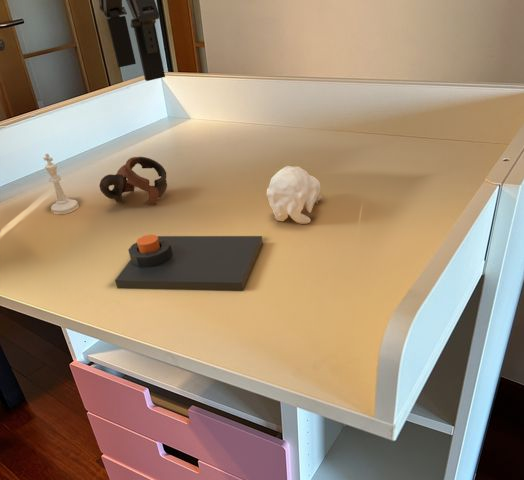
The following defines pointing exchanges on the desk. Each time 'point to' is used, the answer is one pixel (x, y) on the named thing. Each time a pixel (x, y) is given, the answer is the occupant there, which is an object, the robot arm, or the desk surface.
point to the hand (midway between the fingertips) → (140, 71)
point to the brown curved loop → (134, 180)
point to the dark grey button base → (192, 263)
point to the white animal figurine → (293, 194)
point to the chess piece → (59, 191)
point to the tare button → (148, 244)
